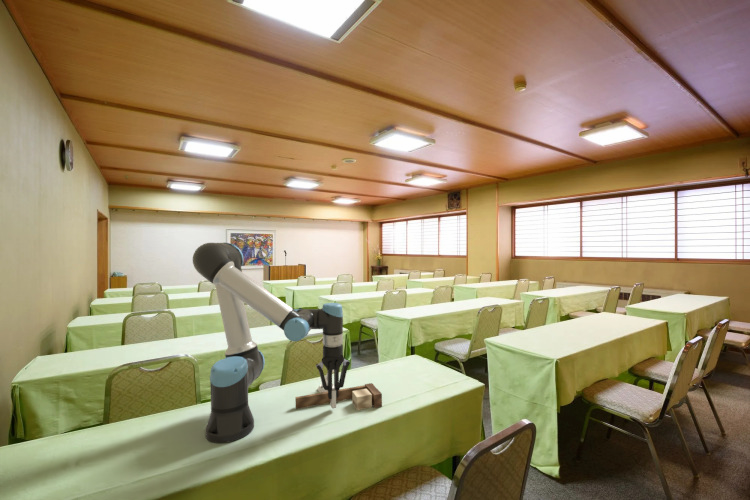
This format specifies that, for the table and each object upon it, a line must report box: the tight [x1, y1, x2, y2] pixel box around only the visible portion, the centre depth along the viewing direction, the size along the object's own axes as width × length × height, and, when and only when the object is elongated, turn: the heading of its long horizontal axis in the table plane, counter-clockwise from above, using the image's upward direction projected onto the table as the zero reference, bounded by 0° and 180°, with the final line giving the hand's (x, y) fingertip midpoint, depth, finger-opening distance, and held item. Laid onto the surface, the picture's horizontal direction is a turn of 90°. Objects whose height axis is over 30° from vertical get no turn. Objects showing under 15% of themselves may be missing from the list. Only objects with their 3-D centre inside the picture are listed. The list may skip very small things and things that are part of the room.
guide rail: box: [295, 382, 383, 410], centre depth 132 cm, size 32×12×5 cm, turn 111°
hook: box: [317, 369, 334, 393], centre depth 148 cm, size 8×12×7 cm
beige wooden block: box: [351, 389, 373, 411], centre depth 133 cm, size 6×6×5 cm
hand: (333, 406), depth 129 cm, fingers closed
